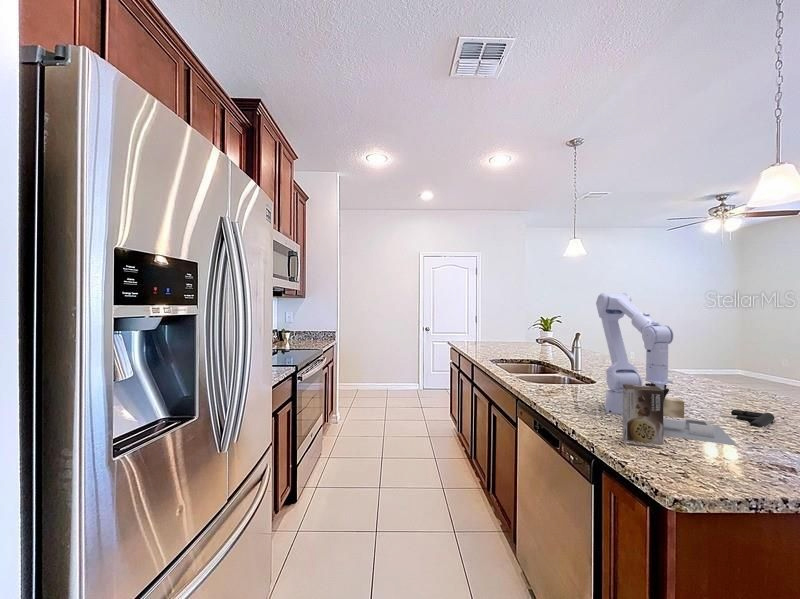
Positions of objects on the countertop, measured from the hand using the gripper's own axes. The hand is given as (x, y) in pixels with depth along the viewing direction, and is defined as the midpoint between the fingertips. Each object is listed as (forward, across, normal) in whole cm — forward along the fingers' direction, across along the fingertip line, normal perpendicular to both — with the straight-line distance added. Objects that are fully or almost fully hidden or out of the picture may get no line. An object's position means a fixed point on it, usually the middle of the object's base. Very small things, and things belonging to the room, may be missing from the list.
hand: (656, 408), depth 123 cm
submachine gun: (+8, +28, -28) cm, 40 cm away
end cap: (+6, 0, -11) cm, 12 cm away
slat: (+2, 0, 0) cm, 2 cm away
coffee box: (+8, -14, +5) cm, 17 cm away
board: (+7, +2, -8) cm, 11 cm away
